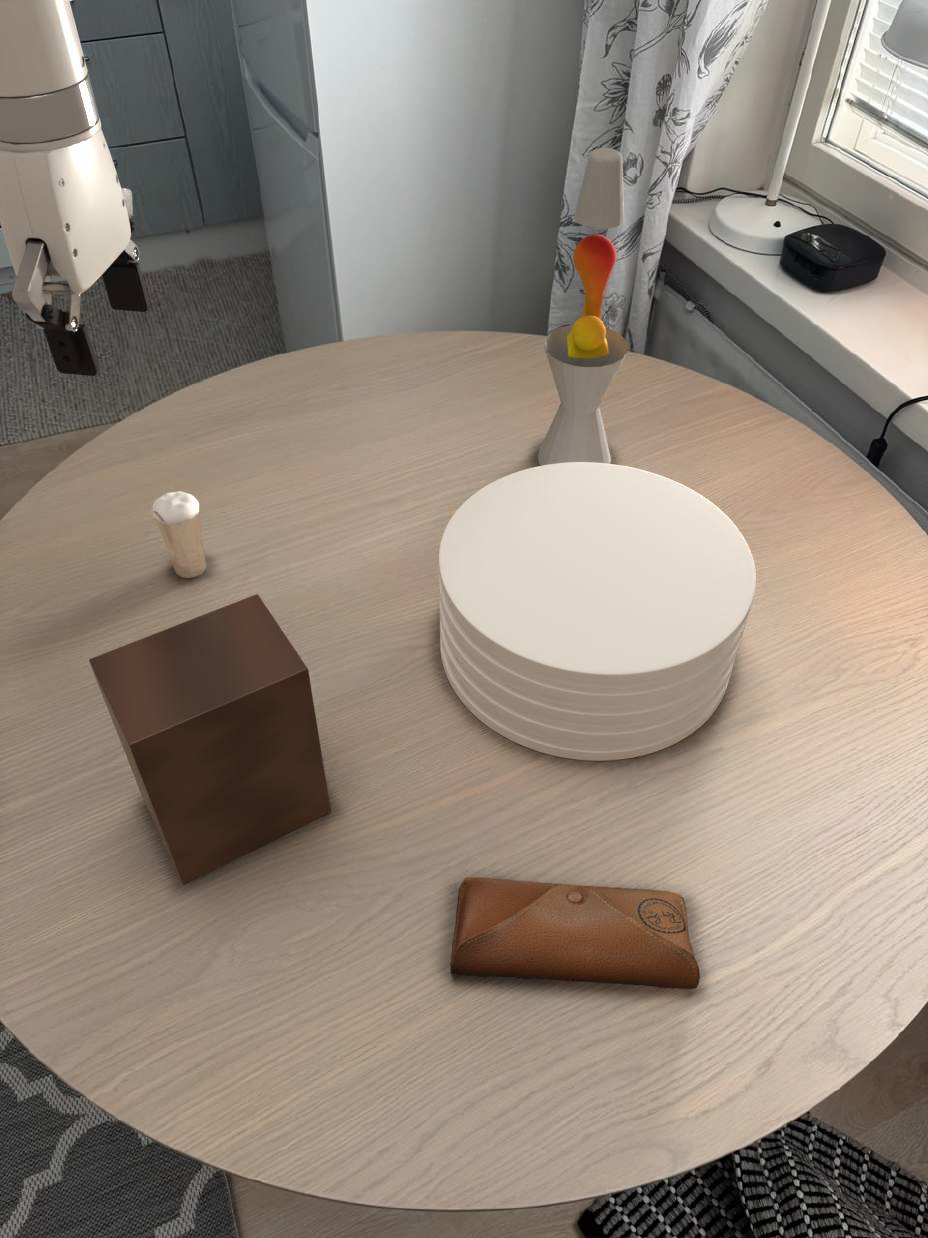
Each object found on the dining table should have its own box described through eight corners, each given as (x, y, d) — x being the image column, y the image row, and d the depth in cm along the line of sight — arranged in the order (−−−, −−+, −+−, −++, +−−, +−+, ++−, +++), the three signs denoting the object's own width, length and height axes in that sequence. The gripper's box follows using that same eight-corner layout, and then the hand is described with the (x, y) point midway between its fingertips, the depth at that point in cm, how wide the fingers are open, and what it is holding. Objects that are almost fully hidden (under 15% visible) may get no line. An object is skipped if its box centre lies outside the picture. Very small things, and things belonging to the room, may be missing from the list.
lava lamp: (535, 434, 121) (556, 133, 96) (610, 436, 121) (650, 135, 96) (536, 480, 115) (559, 170, 90) (615, 482, 115) (659, 172, 90)
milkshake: (156, 582, 103) (133, 506, 96) (182, 549, 106) (163, 474, 99) (195, 592, 102) (175, 516, 94) (220, 559, 105) (203, 483, 98)
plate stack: (764, 754, 88) (796, 667, 79) (446, 767, 86) (445, 680, 78) (695, 544, 107) (715, 457, 99) (435, 553, 106) (433, 465, 98)
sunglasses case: (685, 886, 78) (703, 889, 71) (686, 982, 76) (704, 993, 70) (455, 876, 78) (452, 877, 72) (451, 970, 77) (447, 980, 70)
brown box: (182, 885, 78) (129, 745, 66) (141, 796, 84) (84, 652, 71) (331, 812, 83) (308, 668, 70) (282, 732, 89) (253, 586, 76)
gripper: (45, 64, 73) (107, 284, 85) (-85, 155, 61) (9, 395, 73) (141, 68, 72) (190, 290, 84) (29, 162, 60) (105, 404, 72)
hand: (106, 339), depth 79 cm, fingers open, 9 cm apart
